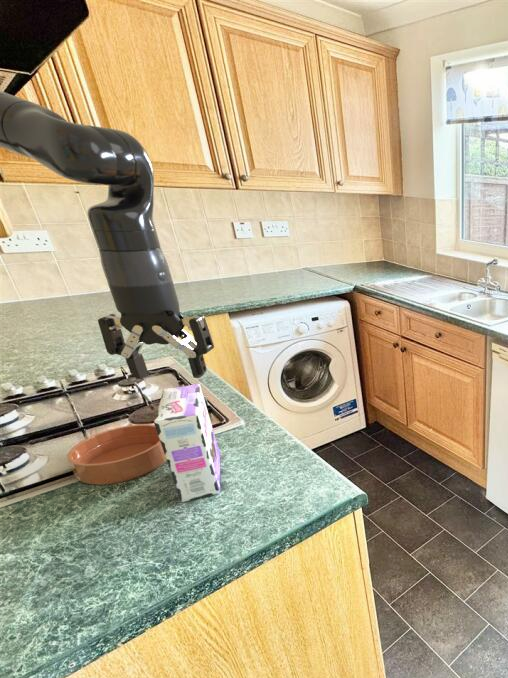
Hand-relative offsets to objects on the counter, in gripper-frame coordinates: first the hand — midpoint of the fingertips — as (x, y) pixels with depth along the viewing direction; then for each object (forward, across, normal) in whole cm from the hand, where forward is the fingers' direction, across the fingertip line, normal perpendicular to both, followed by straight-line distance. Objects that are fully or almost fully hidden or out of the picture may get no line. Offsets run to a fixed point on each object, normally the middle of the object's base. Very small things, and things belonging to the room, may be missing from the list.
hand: (171, 376), depth 70 cm
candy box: (+21, 0, 0) cm, 21 cm away
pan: (+21, +16, -6) cm, 27 cm away
